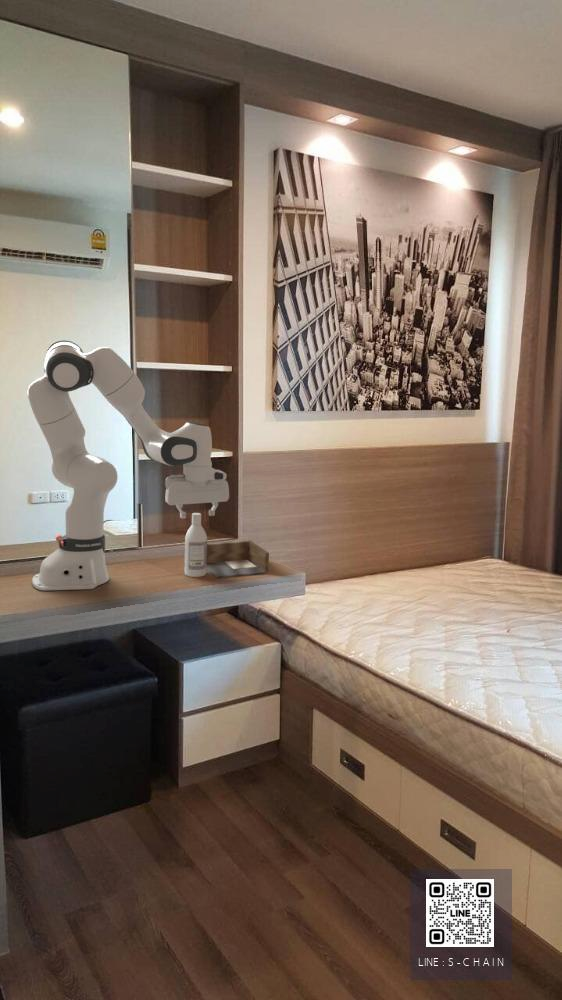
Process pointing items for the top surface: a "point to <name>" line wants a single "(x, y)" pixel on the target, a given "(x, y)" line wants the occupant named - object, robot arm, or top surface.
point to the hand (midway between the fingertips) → (197, 516)
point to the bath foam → (195, 548)
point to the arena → (236, 559)
